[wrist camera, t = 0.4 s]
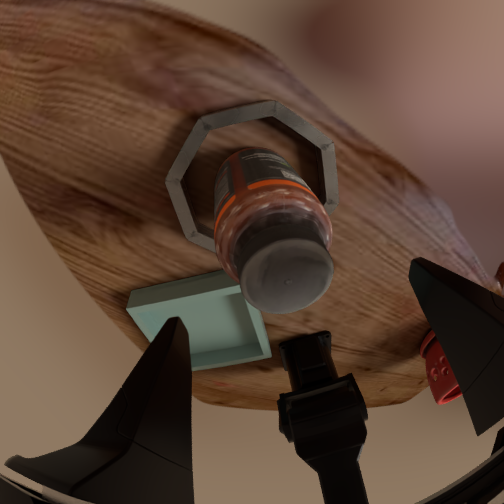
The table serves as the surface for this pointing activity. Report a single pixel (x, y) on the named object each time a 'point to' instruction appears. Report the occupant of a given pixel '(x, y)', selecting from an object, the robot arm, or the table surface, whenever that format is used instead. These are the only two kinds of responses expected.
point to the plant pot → (439, 370)
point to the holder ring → (232, 116)
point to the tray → (205, 318)
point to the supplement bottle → (271, 232)
